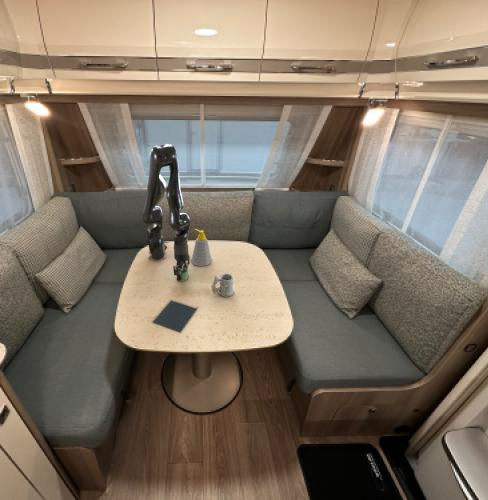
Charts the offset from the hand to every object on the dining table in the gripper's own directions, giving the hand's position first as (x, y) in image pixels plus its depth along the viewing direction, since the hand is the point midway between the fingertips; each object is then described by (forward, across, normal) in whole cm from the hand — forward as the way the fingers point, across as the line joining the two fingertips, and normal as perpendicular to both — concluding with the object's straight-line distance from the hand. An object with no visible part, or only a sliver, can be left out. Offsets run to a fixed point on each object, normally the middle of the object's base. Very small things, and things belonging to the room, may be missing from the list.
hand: (182, 276), depth 148 cm
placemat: (+1, +27, +11) cm, 29 cm away
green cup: (+1, 0, 0) cm, 1 cm away
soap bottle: (+2, -21, +2) cm, 21 cm away
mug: (+2, +3, +25) cm, 25 cm away
